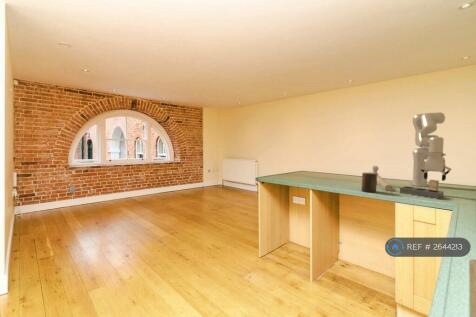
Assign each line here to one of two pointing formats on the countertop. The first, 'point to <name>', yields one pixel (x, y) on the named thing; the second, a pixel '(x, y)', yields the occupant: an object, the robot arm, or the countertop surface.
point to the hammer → (381, 179)
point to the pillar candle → (369, 182)
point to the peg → (433, 185)
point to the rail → (422, 192)
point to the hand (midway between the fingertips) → (434, 179)
